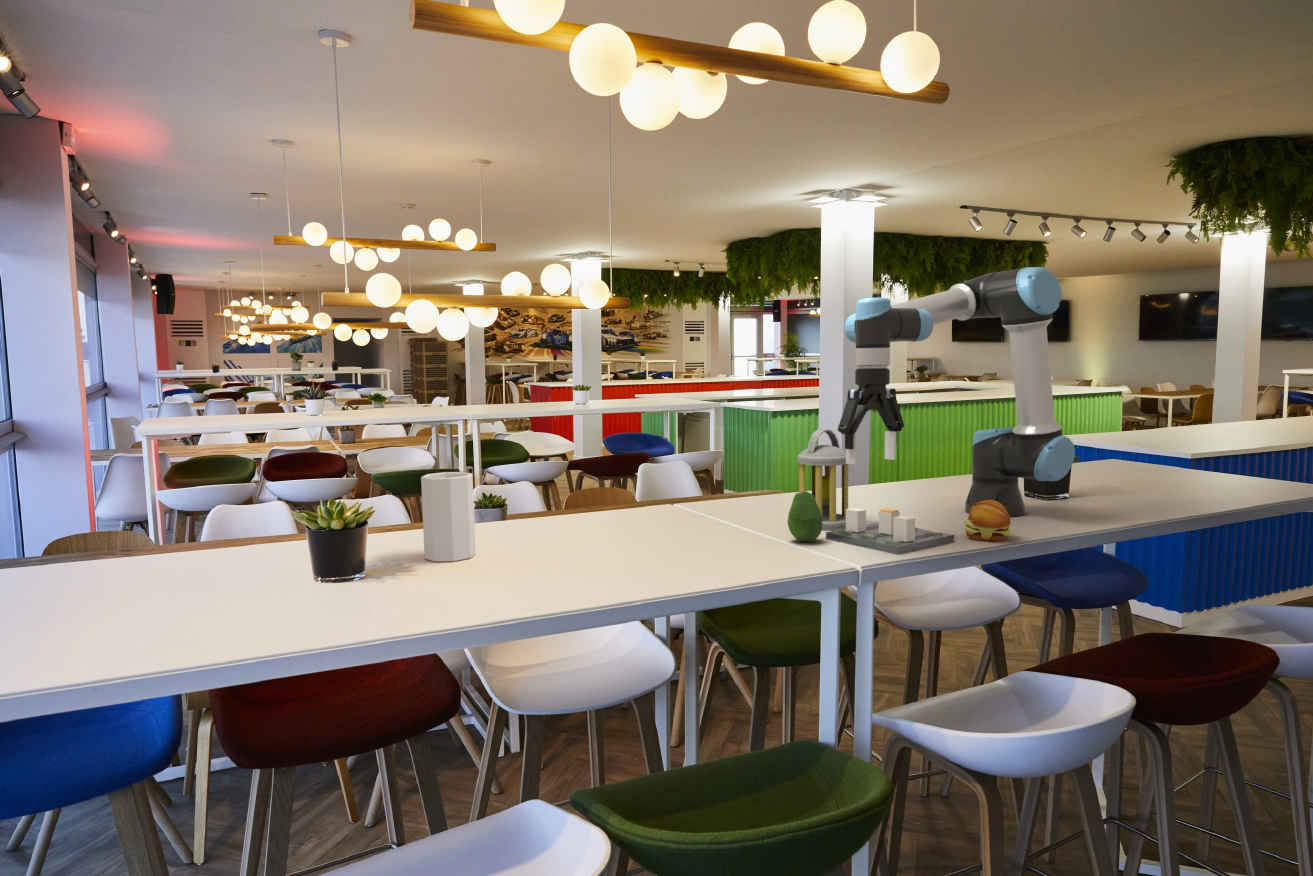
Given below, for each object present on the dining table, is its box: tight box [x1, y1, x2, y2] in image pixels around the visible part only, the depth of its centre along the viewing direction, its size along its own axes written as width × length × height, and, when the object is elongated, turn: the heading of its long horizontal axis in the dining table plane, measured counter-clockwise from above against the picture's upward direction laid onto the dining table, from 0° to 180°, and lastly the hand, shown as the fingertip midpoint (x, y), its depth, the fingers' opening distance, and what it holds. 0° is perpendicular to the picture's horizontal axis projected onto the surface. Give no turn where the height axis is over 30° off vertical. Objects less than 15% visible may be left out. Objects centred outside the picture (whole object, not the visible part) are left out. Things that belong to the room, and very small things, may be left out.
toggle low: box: [846, 507, 867, 532], centre depth 196 cm, size 3×4×5 cm
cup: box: [420, 471, 477, 563], centre depth 184 cm, size 11×11×18 cm
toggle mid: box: [878, 508, 901, 535], centre depth 193 cm, size 3×4×5 cm
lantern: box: [796, 428, 849, 532], centre depth 211 cm, size 14×14×25 cm
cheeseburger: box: [964, 500, 1011, 542], centre depth 193 cm, size 10×11×10 cm
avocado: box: [787, 490, 823, 543], centre depth 193 cm, size 8×8×12 cm
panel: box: [825, 521, 955, 555], centre depth 193 cm, size 20×21×2 cm
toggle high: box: [893, 515, 916, 542], centre depth 185 cm, size 3×4×5 cm
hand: (871, 461), depth 187 cm, fingers open, 13 cm apart
